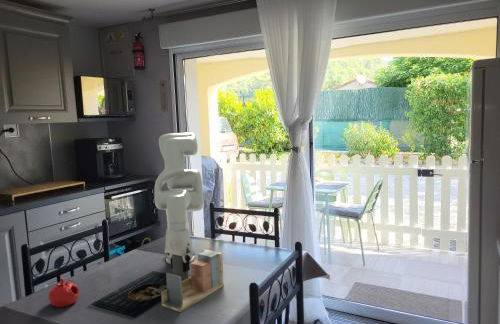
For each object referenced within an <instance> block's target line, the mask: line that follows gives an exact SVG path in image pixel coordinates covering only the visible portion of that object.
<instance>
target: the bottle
mask: <svg viewBox="0 0 500 324" xmlns="http://www.w3.org/2000/svg"><path fill="white" fill-rule="evenodd" d="M185 257H186V258H187V256H186V255H185ZM183 262H184V261H183V258H182V256H177V255H172V264H173V269H172V274H173V275H177V276H180V277H181V281H183V280H185V279H187V278H189V271H187V272H185V273H184V272H183Z"/></svg>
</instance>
